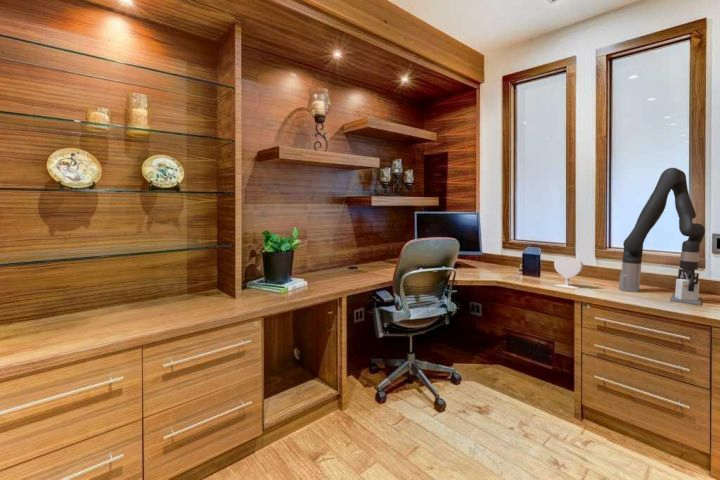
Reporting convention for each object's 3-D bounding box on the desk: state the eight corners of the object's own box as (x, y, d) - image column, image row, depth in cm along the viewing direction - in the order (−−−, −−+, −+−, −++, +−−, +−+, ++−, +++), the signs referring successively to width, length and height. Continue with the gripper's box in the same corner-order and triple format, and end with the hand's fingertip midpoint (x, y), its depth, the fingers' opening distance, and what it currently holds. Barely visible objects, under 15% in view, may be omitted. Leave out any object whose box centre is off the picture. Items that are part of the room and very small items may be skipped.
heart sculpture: (581, 288, 223) (583, 259, 221) (579, 289, 219) (581, 260, 217) (555, 283, 234) (556, 256, 232) (552, 285, 231) (554, 257, 229)
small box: (691, 298, 196) (693, 279, 195) (698, 300, 190) (700, 281, 189) (674, 297, 198) (676, 278, 197) (680, 299, 192) (682, 280, 191)
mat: (700, 305, 184) (700, 304, 184) (669, 301, 192) (670, 299, 192) (700, 299, 197) (701, 297, 197) (672, 295, 205) (672, 294, 205)
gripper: (706, 262, 184) (703, 293, 186) (690, 258, 198) (687, 287, 200) (688, 261, 187) (685, 292, 188) (673, 257, 200) (671, 286, 202)
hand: (686, 289), depth 194 cm, fingers open, 7 cm apart
